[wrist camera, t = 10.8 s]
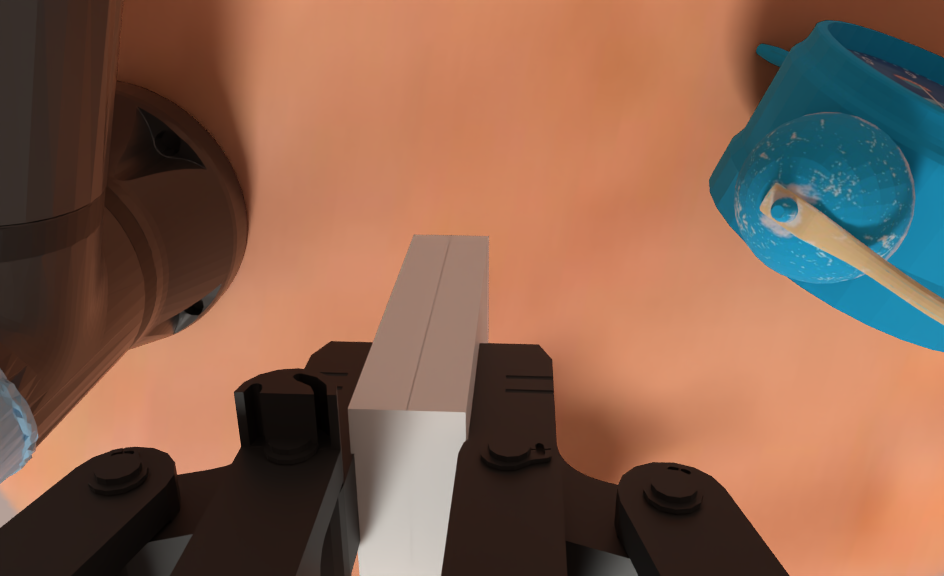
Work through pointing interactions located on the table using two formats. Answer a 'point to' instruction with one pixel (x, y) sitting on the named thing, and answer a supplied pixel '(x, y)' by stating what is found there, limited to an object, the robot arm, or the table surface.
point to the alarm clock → (847, 177)
